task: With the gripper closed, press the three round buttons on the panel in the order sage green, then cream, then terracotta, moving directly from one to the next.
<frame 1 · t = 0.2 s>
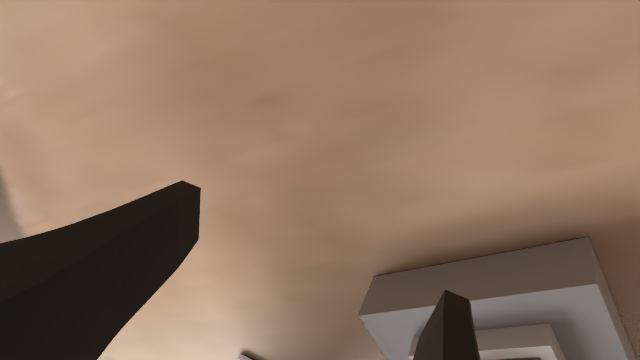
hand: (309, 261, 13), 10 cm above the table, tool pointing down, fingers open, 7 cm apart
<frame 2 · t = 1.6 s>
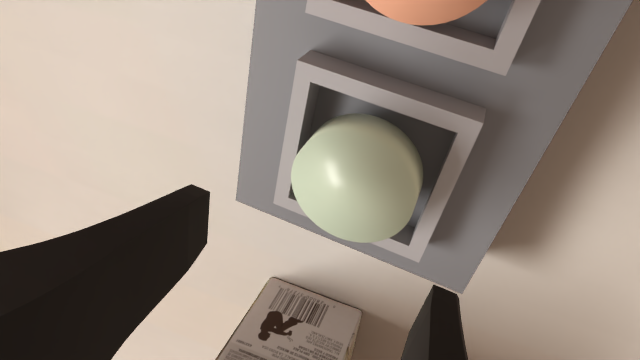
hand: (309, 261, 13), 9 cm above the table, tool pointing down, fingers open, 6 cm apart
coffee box: (310, 334, 30), on the table
sage button: (356, 179, 16), point 5 cm above the table, slide at 0.0 cm
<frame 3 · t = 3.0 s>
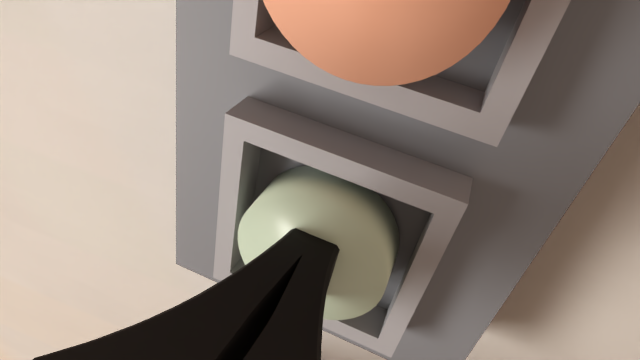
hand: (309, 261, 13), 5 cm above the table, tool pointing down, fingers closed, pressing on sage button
sage button: (318, 244, 13), point 4 cm above the table, slide at 0.9 cm, touching gripper
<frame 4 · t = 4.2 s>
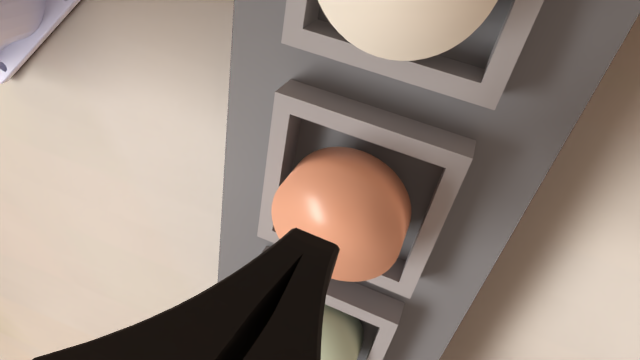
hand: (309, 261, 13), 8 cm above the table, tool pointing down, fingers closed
button panel: (378, 148, 19), on the table
terracotta button: (340, 215, 15), point 5 cm above the table, slide at 0.0 cm
sage button: (312, 336, 21), point 4 cm above the table, slide at 0.9 cm
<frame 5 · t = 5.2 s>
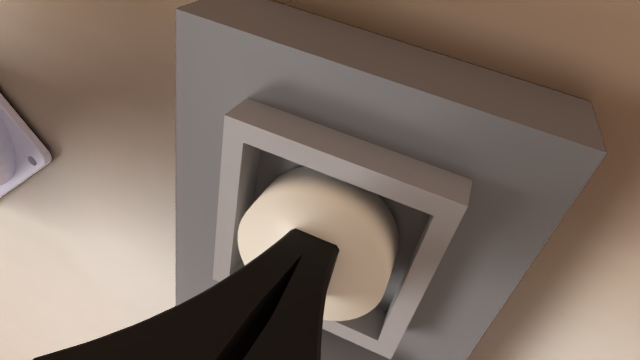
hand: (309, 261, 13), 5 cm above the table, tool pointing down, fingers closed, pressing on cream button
cream button: (318, 245, 13), point 4 cm above the table, slide at 0.9 cm, touching gripper
button panel: (317, 313, 21), on the table
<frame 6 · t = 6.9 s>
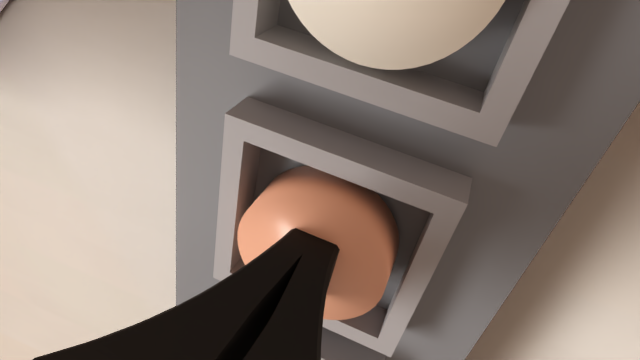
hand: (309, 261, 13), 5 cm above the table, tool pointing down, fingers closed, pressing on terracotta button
button panel: (358, 174, 16), on the table
terracotta button: (317, 244, 13), point 4 cm above the table, slide at 0.9 cm, touching gripper
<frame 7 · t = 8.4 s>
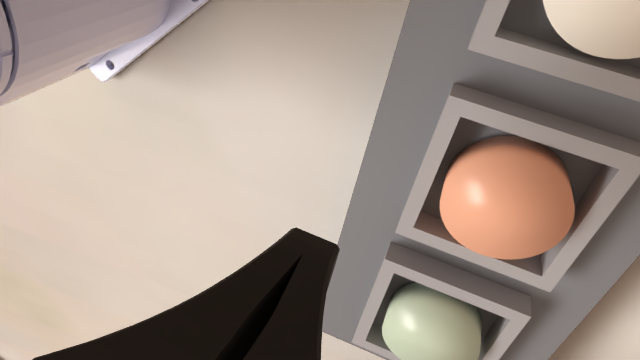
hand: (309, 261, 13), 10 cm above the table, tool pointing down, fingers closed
button panel: (506, 148, 20), on the table
terracotta button: (504, 199, 17), point 4 cm above the table, slide at 0.9 cm
sage button: (431, 328, 21), point 4 cm above the table, slide at 0.9 cm
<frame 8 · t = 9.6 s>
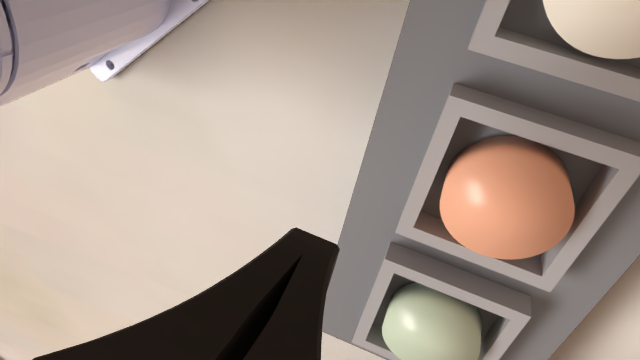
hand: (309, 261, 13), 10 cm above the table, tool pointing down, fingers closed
button panel: (506, 148, 20), on the table
terracotta button: (504, 199, 17), point 4 cm above the table, slide at 0.9 cm
sage button: (431, 328, 21), point 4 cm above the table, slide at 0.9 cm
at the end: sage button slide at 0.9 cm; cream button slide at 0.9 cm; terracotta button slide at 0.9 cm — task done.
